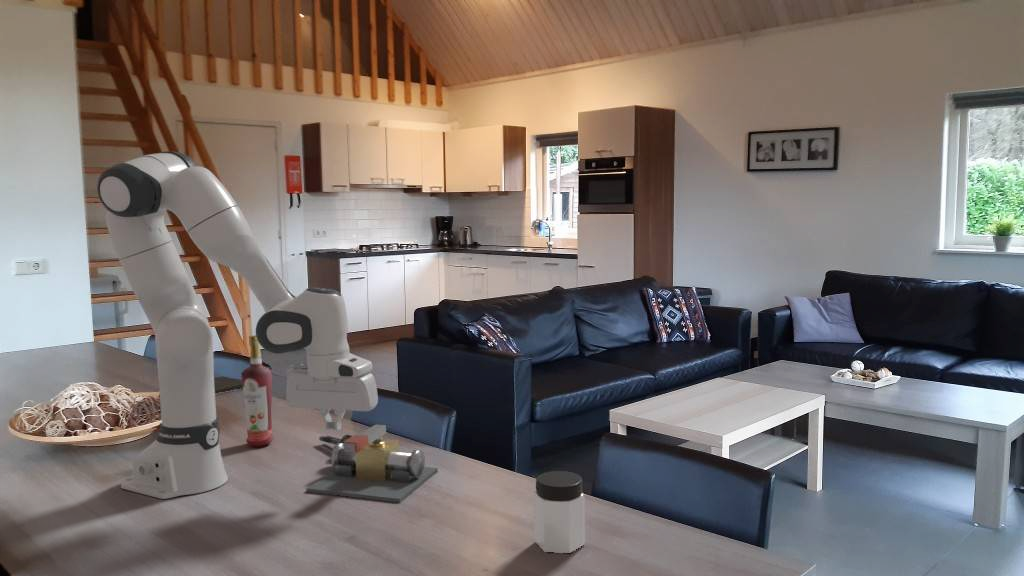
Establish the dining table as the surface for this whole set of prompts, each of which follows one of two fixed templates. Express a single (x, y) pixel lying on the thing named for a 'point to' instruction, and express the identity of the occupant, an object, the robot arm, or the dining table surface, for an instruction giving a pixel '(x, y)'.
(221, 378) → the dark grey flat slab
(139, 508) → the dining table surface
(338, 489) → the mat
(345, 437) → the valve
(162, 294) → the robot arm
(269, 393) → the liquor
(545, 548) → the jar
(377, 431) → the lever
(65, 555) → the dining table surface
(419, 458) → the pipe valve
